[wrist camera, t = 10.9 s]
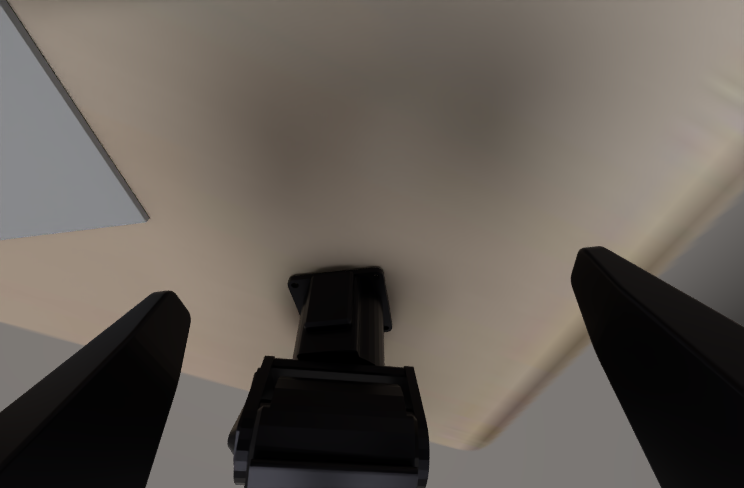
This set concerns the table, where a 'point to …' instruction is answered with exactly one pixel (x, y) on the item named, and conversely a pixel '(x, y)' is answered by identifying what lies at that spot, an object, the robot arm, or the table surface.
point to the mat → (50, 151)
